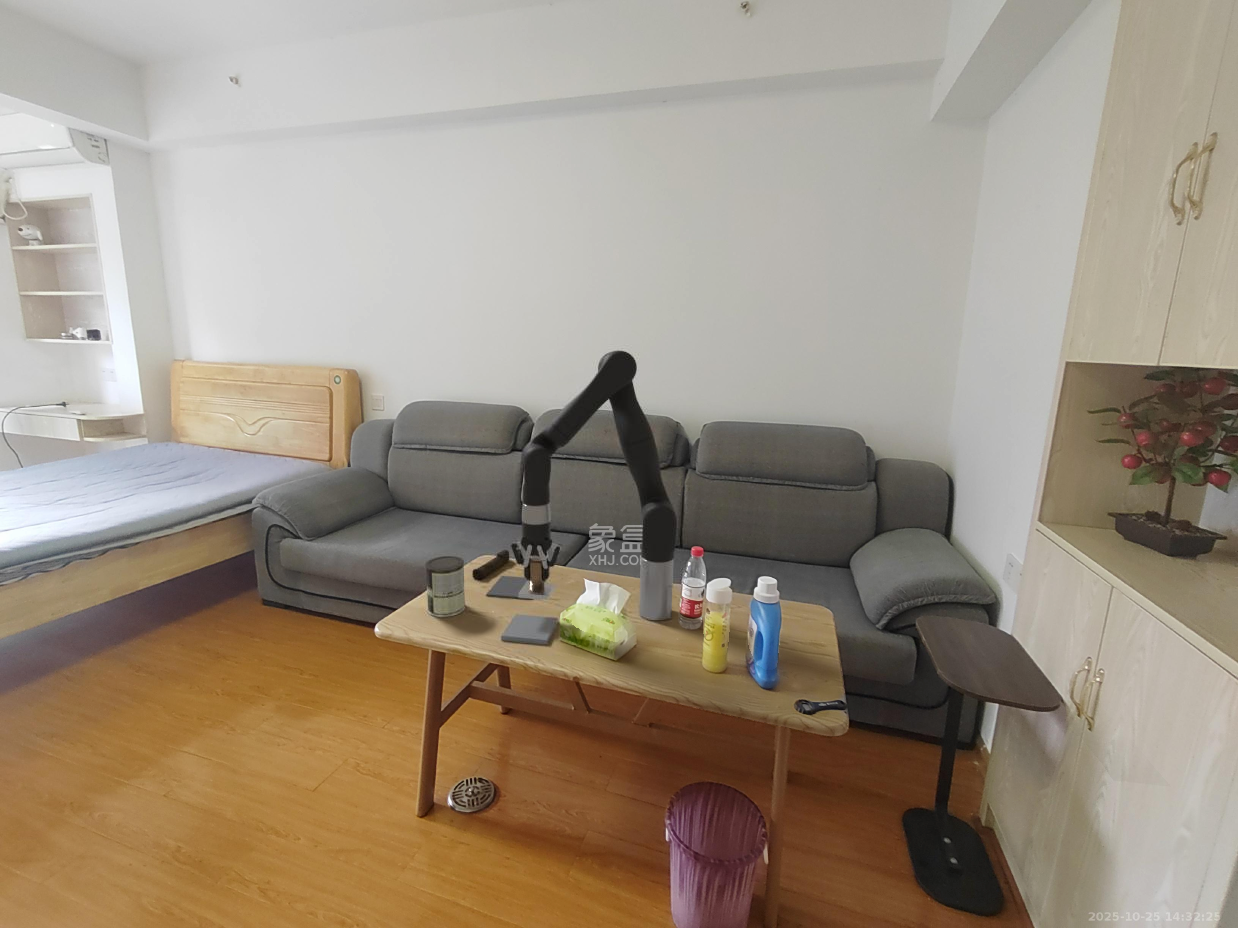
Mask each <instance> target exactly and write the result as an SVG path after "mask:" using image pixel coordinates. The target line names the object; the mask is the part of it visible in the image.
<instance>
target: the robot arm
mask: <svg viewBox="0 0 1238 928" xmlns="http://www.w3.org/2000/svg"><path fill="white" fill-rule="evenodd" d="M637 369H638V367H637V361H636V360H635V358H634V356H633V355H632V354H631V353H630V352H627V351H624V350H613V351H610V352H608V353H607V352H606V353H605V354H604V355H603V356H602V357H601V358H600V359H599V362H598V366H597V373H596V374H595V376H594V377H593V378H592V379H591V381H590V382H589V383H588V385H586V387H584V389H583V390H582V391H581V392H580V393H579V394H578V395H576V396H575V397H574V398H573V399H572V400H571V401H570V402H568V404H566V405H565V406H564V407H563V408H562V409H561V410H560V411H559V412H558V413H557V414H556V415H555V417H554V418H553V419H552V420H550V422H549V423H548V424H547V425H546V427H545V428H544V429H543V430H542V431H539V433H538V434H536V435H535V436H534V437H533V438H532V439H531V440H530V441H529V442H528V443H527V444H526V445H525V446H524V448H523V450H522V451H521V454H520V457H521V462H522V464H523V477H524V480H523V481H524V483H523V485H522V508H521V532H522V533H521V536H522V538H521V540H519V541H518V540H515V541H513V543H512V544H511V545H510V547H511V550H512V553H513V556H514V559H515V561H516V564H517V565H521V566H523V576H524V577H525V578H526V580H529V560H530V559H532V558H533V557H534V556H536V557H538V558H540V559H541V561H542V564H543V567H544V568H543V581H544V582H547V580H548V579H549V578H550V568H553V567H555V565H556V564H557V562H558V559H559V556H560V553H561V550H562V548H563V547H562V546H563V544H561V543H559V544H557V543H555V542H553V540H552V538H551V536H552V535H551V534H552V533H551V532H552V531H551V530H552V528H551V527H552V525H551V524H552V523H551V521H552V520H551V513H552V511H551V505H550V504H551V503H550V501H551V500H550V498H551V497H550V496H551V495H550V493H551V492H550V481H551V480H550V479H551V472H552V459H551V458H552V456H553V455H554V454H555V453H556V452H557V451H558V450H559V449H560V448H564V447H565V446H566V445H568V444H569V443H570V442H571V440H572V439H573V438H574V437H575V436H576V435H577V434H578V433H579V432H580V430H582V428H583V427H584V426H585V425H586V424H587V423H588V422H589V420H590V419H591V418H593V416H594V415H595V413H596V412H598V411H599V409H600V408H601V407H602V406H603V405H604V404H605V403H606V402H607V401H608V402H609V403H610V405H611V406H610V407H611V411H612V415H613V419H614V424H615V428H616V432H617V436H618V440H619V441H618V442H619V444H620V448H621V450H622V451H621V452H622V454H623V458H624V461H625V463H626V466H627V468H628V470H629V473H630V475H631V476H632V478H633V481H634V483H635V485H636V489H637V493H638V497H639V503H640V507H641V508H640V510H641V519H642V529H641V530H642V534H641V539H642V540H641V548H640V568H639V569H640V573H639V600H638V602H639V603H638V613H639V614H638V615H640V616H641V617H642V618H643V619H646V620H649V621H655V622H656V621H664V620H671V619H672V608H673V607H672V606H673V605H672V604H673V588H674V587H673V586H674V561H675V559H674V558H675V551H676V543H677V530H678V529H677V528H678V519H677V514H676V511H675V509H674V506H673V504H672V503H671V500H670V498H669V495H668V494H667V491H666V488H665V485H664V482H663V479H662V474H661V464H660V458H659V457H660V456H659V453H658V447H657V444H656V441H655V436H654V433H653V430H652V428H651V425H650V423H649V420H648V419H647V417H646V415H645V413H644V411H643V409H642V407H641V405H640V403H639V401H638V398H637V395H636V391H635V386H634V382H633V380H634V378H635V377H636V374H637ZM522 548H523V549H524V550H525V554H524V555H525V556H523V553H522V550H521V549H522ZM550 548H551V552H552V553H553V554H552V557H551V560H550V559H549V553H548V551H549V550H550Z"/></svg>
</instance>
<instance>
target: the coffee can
mask: <svg viewBox="0 0 1238 928" xmlns="http://www.w3.org/2000/svg"><path fill="white" fill-rule="evenodd" d="M464 564H465V561H464V559H463V558H461V557H459V556H456V555H455V556H453V555H445V556H437V557H434V558H431V559H429V560H427V561H426V563H425V565H424V567H425V570H426V571H425V575H426V591H427V592H426V593H427V613H428V614H429V615H431V616H432V617H437V618H450V617H453V616H457V615H459V614H460V613H463V611H464V610H465V609H466V603H465V602H466V600H465V597H466V596H465V573H464V569H465V568H464V566H465V565H464Z"/></svg>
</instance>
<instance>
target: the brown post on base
mask: <svg viewBox="0 0 1238 928" xmlns="http://www.w3.org/2000/svg"><path fill="white" fill-rule="evenodd" d="M543 568H544V567H543V564H542V561H541V559H540V557H532V558H531V559H530V560H529V580H530V581H527V582H526V583H525V585H524V586H523V588H522V589H521V590H520V592H519V593H518V598H530V599H532V600H544V601H545V600H547V601H549V598H550V597H551V595H552V593H553V592H554V589H555V588H556V583H555V582H554V583H553V582H545V581H543Z"/></svg>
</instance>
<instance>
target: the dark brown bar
mask: <svg viewBox="0 0 1238 928" xmlns="http://www.w3.org/2000/svg"><path fill="white" fill-rule="evenodd" d="M509 561H510V551H509V550H507V549H504V550H502V551H500V552H498V553H497V554H496V557H494V558H492V559H490V560H489V561H488V562H486V563H484V564H482V565H481V566H479V567H477V568H474V569H473V570H472V571H471V573H472V578H473V580H476V581H483V579H485V577H487V575H489V574H490V573H492V572H494V571H496V570H497V569H499V567H504V566H506V565H507V564H508V562H509Z"/></svg>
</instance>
